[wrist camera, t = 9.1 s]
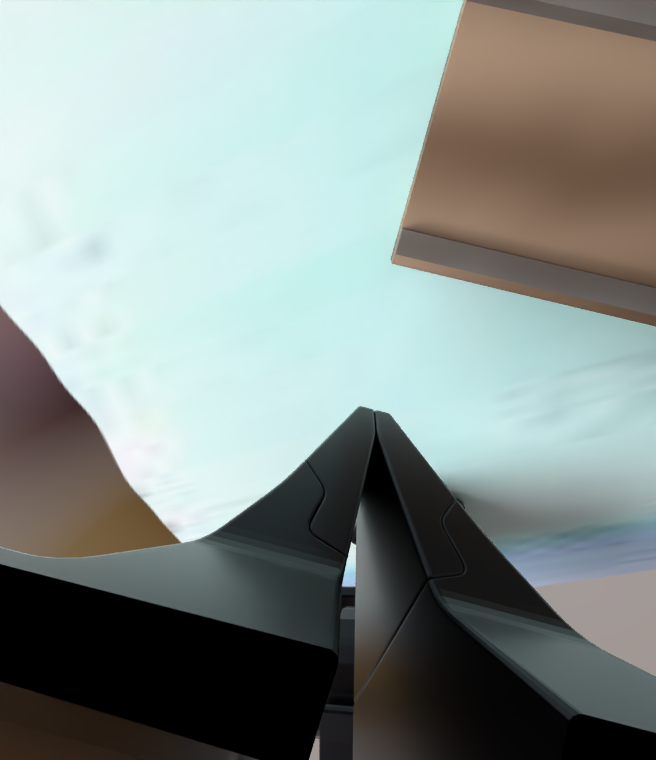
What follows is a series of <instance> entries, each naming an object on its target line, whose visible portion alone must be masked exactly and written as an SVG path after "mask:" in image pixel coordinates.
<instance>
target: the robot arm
mask: <svg viewBox="0 0 656 760" xmlns="http://www.w3.org/2000/svg"><path fill="white" fill-rule="evenodd" d="M356 519H357V520H356ZM351 542H352V543H353V544H356V587H344V586H342V582H343V576H344V571H345V566H346V561H347V558H348V553H349V549H350V545H351ZM315 738H318V739H320V760H656V676H654V675H652V674H650V673H648V672H646V671H644V670H642V669H640V668H638V667H636V666H634V665H632V664H629V663H628V662H626V661H624V660H622V659H619V658H618V657H616V656H614V655H612V654H610V653H608V652H606V651H604V650H602V649H601V648H599V647H597V646H596V645H594V644H593V643H591V642H590V641H588V640H587V639H585V638H584V637H583V636H582V635H580V634H579V633H578V632H576V631H575V630H574V629H573V628H571V626H569V625H568V624H567V623H566V622H565V621H564V620H563V619H562V618H561V617H560V616H559V615H558V614H557V613H556V612H555V611H554V610H553V609H552V608H551V606H550V605H548V603H547V602H546V601H545V600H544V599H543V598H542V597H541V596H540V594H539V593H538V592H537V591H536V590H535V589H534V588H533V587H532V586H531V585H530V584H529V583H528V581H527V580H526V579H525V578H524V577H523V576H522V575H521V574H520V573H519V572H518V571H517V569H516V568H515V567H514V566H513V565H512V564H511V563H510V562H509V561H508V560H507V559H506V557H505V556H504V555H503V554H502V553H501V552H500V551H499V550H498V549H497V547H496V546H495V545H494V544H493V543H492V542H491V541H490V540H489V538H488V537H487V536H486V535H485V534H484V533H483V532H482V530H481V529H480V528H479V527H478V525H477V524H476V523H475V522H474V521H473V519H472V518H471V517H470V516H469V515H468V513H467V512H466V511H465V507H464V504H463V502H462V501H461V500H458V499H456V498H455V497H454V496H453V494H452V493H451V492H450V490H449V489H448V488H447V487H446V485H445V484H444V483H443V481H442V480H441V479H440V478H439V476H438V475H437V474H436V472H435V471H434V470H433V469H432V467H431V466H430V465H429V464H428V462H427V461H426V460H425V458H424V457H423V456H422V455H421V453H420V452H419V451H418V449H417V448H416V447H415V446H414V444H413V443H412V442H411V440H410V439H409V438H408V437H407V435H406V434H405V433H404V432H403V430H402V429H401V428H400V426H399V425H398V424H397V423H396V421H395V420H394V419H393V417H392V416H391V415H390V414H389V413H385V412H381V411H374V410H373V409H369V408H365V407H361V406H360V407H358V408H357V409H356V410H355V411H354V412H353V413H352V414H351V415H350V416H349V417H348V418H347V419H346V420H345V421H344V422H343V423H342V424H341V425H340V426H339V427H338V428H337V429H336V430H335V431H334V432H333V433H332V434H331V435H330V436H329V437H328V438H327V439H326V440H325V441H324V442H323V443H322V444H321V445H320V446H319V447H318V448H317V449H316V450H315V451H314V452H313V453H312V454H311V455H310V456H309V457H308V458H307V459H306V460H305V462H303V463H302V464H301V465H300V466H299V467H298V468H297V469H296V470H295V471H294V472H293V473H292V474H291V475H289V476H288V477H287V478H286V479H285V480H284V481H283V482H282V483H280V484H279V485H278V486H277V487H275V488H274V489H273V490H271V491H270V492H269V493H268V494H266V495H265V496H263V497H262V498H261V499H259V500H258V501H257V502H255V503H254V504H252V505H251V506H250V507H248V508H247V509H246V510H244V511H243V512H241V513H240V514H239V515H237V516H236V517H235V518H233V519H232V520H230V521H229V522H228V523H226V524H225V525H224V526H222V527H221V528H219V529H218V530H216V531H214V532H213V533H211V534H209V535H207V536H205V537H203V538H201V539H198V540H195V541H191V542H185V543H179V544H172V545H165V546H159V547H153V548H146V549H139V550H133V551H126V552H119V553H112V554H106V555H100V556H90V557H81V558H54V557H41V556H36V555H31V554H26V553H22V552H18V551H14V550H10V549H7V548H3V547H0V760H309V757H310V754H311V751H312V747H313V744H314V741H315Z"/></svg>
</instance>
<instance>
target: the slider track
mask: <svg viewBox="0 0 656 760" xmlns="http://www.w3.org/2000/svg"><path fill="white" fill-rule="evenodd" d="M391 262H392V264H396V265H400V266H404V267H409V268H413V269H417V270H421V271H425V272H430V273H434V274H438V275H442V276H446V277H451V278H455V279H459V280H463V281H467V282H472V283H476V284H480V285H484V286H488V287H493V288H497V289H501V290H505V291H509V292H514V293H518V294H522V295H526V296H531V297H535V298H539V299H543V300H547V301H552V302H556V303H560V304H564V305H568V306H573V307H577V308H581V309H585V310H589V311H594V312H598V313H602V314H606V315H610V316H615V317H619V318H623V319H627V320H631V321H636V322H640V323H644V324H648V325H652V326H656V0H464V1H463V4H462V8H461V11H460V15H459V18H458V22H457V25H456V29H455V33H454V36H453V40H452V43H451V47H450V50H449V54H448V57H447V61H446V65H445V68H444V72H443V75H442V79H441V82H440V86H439V90H438V93H437V97H436V100H435V104H434V107H433V111H432V114H431V118H430V122H429V125H428V129H427V132H426V136H425V139H424V143H423V146H422V150H421V154H420V157H419V161H418V164H417V168H416V171H415V175H414V178H413V182H412V186H411V189H410V193H409V196H408V200H407V203H406V207H405V211H404V214H403V218H402V221H401V225H400V228H399V232H398V235H397V239H396V243H395V246H394V250H393V253H392V257H391Z"/></svg>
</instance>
